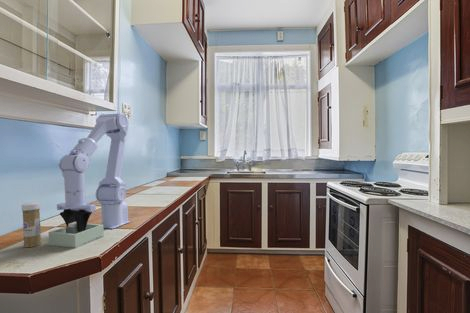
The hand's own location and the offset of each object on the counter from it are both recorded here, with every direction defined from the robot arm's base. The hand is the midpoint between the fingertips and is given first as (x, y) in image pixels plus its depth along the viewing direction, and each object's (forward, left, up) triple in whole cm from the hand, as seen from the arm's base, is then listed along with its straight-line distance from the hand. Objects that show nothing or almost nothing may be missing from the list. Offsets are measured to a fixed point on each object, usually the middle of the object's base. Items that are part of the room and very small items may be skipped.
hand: (77, 232), depth 88 cm
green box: (0, 0, -3) cm, 3 cm away
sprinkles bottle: (+7, -10, -3) cm, 13 cm away
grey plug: (+1, 0, -2) cm, 2 cm away
